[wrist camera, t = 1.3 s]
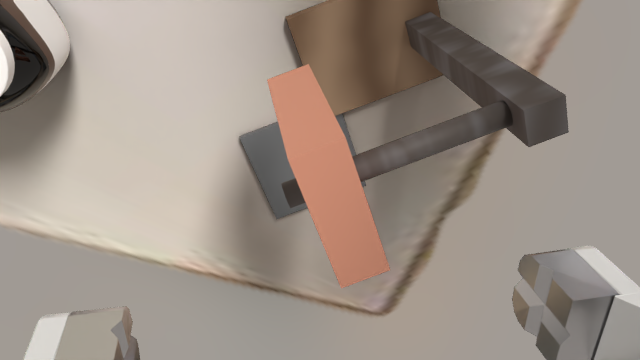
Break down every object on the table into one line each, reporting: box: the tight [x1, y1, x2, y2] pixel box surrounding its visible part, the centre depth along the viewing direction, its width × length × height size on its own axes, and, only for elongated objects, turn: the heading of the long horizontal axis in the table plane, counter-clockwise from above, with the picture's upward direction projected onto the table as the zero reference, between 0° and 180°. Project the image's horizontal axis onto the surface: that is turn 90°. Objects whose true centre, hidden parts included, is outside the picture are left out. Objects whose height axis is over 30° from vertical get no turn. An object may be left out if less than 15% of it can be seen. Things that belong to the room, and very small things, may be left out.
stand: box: [281, 0, 568, 208], centre depth 39 cm, size 17×10×22 cm, turn 109°
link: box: [267, 64, 390, 288], centre depth 33 cm, size 3×9×12 cm, turn 18°
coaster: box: [240, 114, 366, 219], centre depth 53 cm, size 10×10×1 cm
